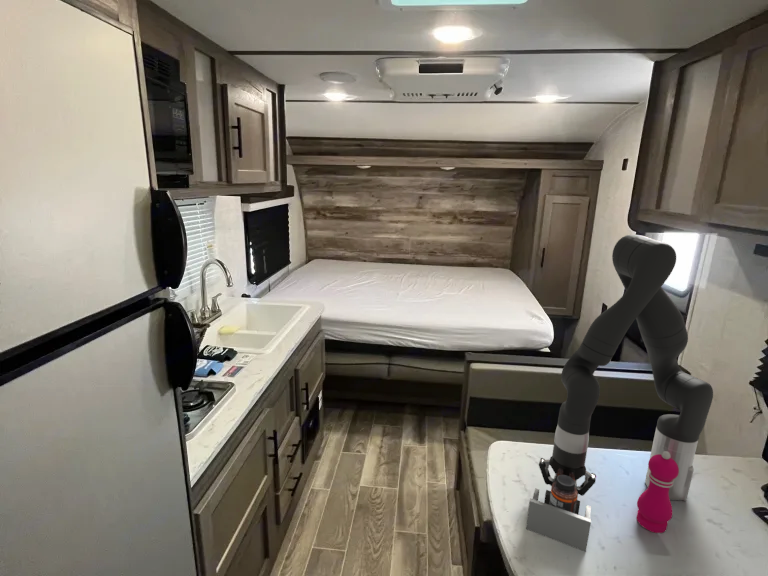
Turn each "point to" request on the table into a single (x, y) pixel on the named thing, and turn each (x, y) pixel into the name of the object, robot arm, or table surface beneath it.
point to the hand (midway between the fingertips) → (562, 501)
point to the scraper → (547, 500)
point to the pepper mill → (657, 494)
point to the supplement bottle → (564, 494)
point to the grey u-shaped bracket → (558, 523)
